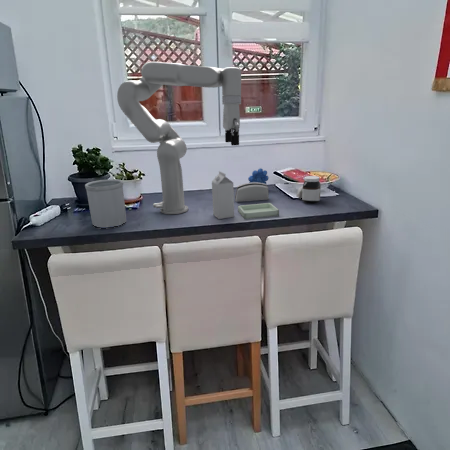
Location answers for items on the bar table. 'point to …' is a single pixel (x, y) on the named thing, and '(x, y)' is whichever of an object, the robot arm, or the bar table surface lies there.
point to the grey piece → (251, 192)
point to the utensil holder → (106, 202)
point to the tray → (258, 210)
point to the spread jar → (310, 190)
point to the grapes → (258, 176)
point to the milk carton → (222, 196)
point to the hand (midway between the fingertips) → (232, 143)
